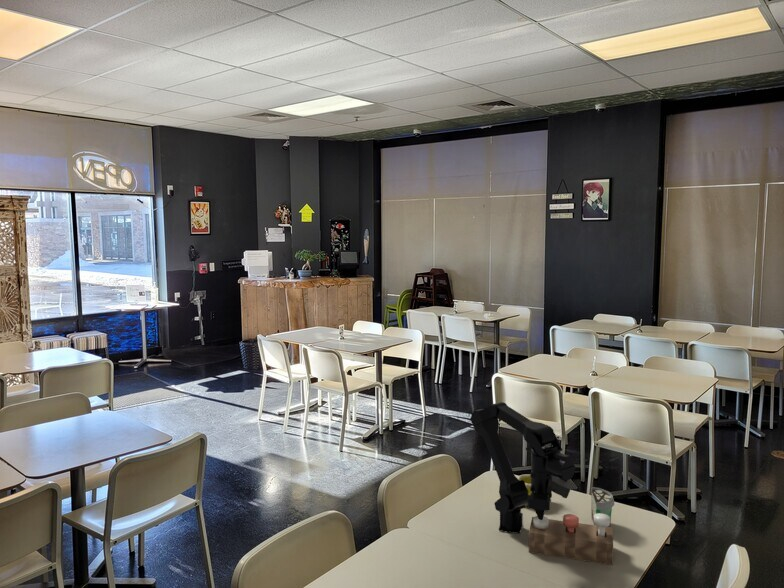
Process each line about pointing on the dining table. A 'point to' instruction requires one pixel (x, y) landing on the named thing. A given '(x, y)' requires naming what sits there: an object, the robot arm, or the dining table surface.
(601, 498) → the food container
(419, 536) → the dining table surface
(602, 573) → the dining table surface
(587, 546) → the walnut plug block
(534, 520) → the left grey plug
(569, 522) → the salmon round-head knob
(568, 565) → the dining table surface
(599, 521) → the right grey plug
